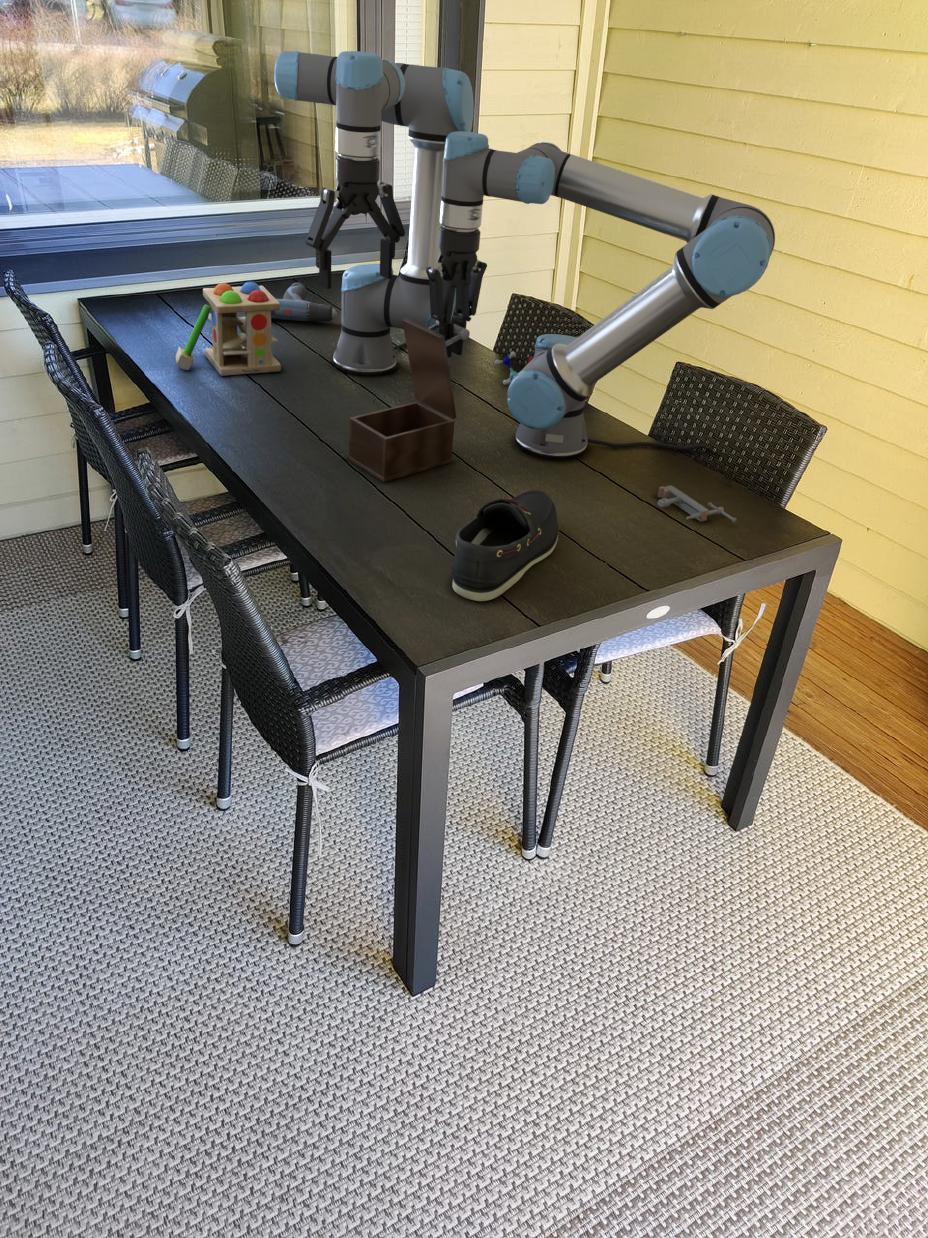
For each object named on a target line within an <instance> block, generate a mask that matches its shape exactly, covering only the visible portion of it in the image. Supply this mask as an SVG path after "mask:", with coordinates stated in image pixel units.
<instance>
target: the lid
mask: <svg viewBox="0 0 928 1238" xmlns="http://www.w3.org/2000/svg"><path fill="white" fill-rule="evenodd" d="M402 322H403V328H404V329H403V331H404V332H403V333H404V338H405V343H406V345H407V346H406V349H407V354H408V360H409V366H410V367H409V368H410V371H411V378H412V385H413V390H414V395H415V400H416V401H418V402H420V403H422V404H424V405H426V406H428V407H429V408H431V409H433V410H435V411H437V412H439V413H441V414H442V415H444V416H446V417H448V418H450V419H452V420H455V419H457V411H456V406H455V405H456V404H455V397H454V391H453V385H452V377H451V370H450V364H449V358H448V357H447V350H446V347H447V346H449V345H450V344H452V343H454V342H456V341H458V340H460V339H462V340H463V341H467V340H468V339H469V338H470V334H471V333H470V330H469V329H467V328H466V329H465V328H463V327H461V326H458V325H456V324H454V328H453V335H454V336H455V337H453V338H451V339H449V340H447V341H445V336H443V335H441V334H439V333H437V332H434V331H433V330H435V329H437V328H438V329H439V321H437V320H436V323H435V324H434V325H432V326H430V327H428V328H426V327H424V326H422V325H419V324H417V323H415V322H413V321H411V320H409V319H406V318H405V319H403V320H402Z"/></svg>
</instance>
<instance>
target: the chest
mask: <svg viewBox="0 0 928 1238" xmlns="http://www.w3.org/2000/svg"><path fill="white" fill-rule="evenodd" d="M348 424H349V427H348V428H349V429H348V431H349V432H348V461H350V462H351V463H353V464H354V465H357V466H358V467H359V468H360V469H362V470H364V471H366V472H367V473H369V474H371V475H372V476H374V477H375V478H377V479H378V480H380V481H381V482H383V483H387V482H390V481H393V480H396V479H400V478H403V477H406V476H411V475H413V474H417V473H420V472H423V471H427V470H430V469H431V470H432V469H434V468H437V467H440V466H444V465H447V464H451V463H452V458H453V445H454V433H455V420H454V419H451V418H450V417H448V416H446V415H444V414H442V413H440V412H438V411H437V410H435V409H433V408H431V407H429V406H427V405H425V404H424V403H422V402H420V401H418V400H416V401H413V402H409V403H405V404H401V405H396V406H393V407H392V406H391V407H387V408H385V409H380V410H375V411H371V412H367V413H364V414H358V415H355V416H350V417H349V423H348Z"/></svg>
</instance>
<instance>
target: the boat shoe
mask: <svg viewBox="0 0 928 1238" xmlns="http://www.w3.org/2000/svg"><path fill="white" fill-rule="evenodd" d="M558 520H559V519H558V513H557V509H556V506H555V503H554V502H553V500H552V498H551V496H549V494H548V493H546V492H545V491H542V490H539V489H537V490H536V489H533V490H528V491H526V492H522V493H520V494H517V495H516V496H514V497H513V498H505V497H504V498H499V497H498V498H495V499H493V500H491V501H488V502H486V503H485V504H483V505H482V506H481V507H480V508H479V509H478V511H477V512H476V514H475V516H474V518H472V519H470V520H469V521H468V522H467V523H465V525H463V526H461V527H460V528H459V529H458V530H457V532H456V534H455V536H454V538H453V544H455V548H454V549H455V552H454V556H453V560H452V567H450V573H451V575H453V576H452V585H451V586H452V589H453V591H454V592H455V593H456V594H457V595H459V596H460V597H463V598H464V599H468V600H470V601H471V600H472V601H476V602H486V601H490V600H493V599H496V598H498V597H499V596H501V595H502V594H504V593H505V592H506V591H507V590H508V589H510V588H511V587H512V586H514V585H515V584H516V583H517V582H518V581H520V579H522V577H523V575H524V574H525V573H526V572H527V571H528V570H529V569H530V568H531V567H533V565H535V564H536V563H539V562H541V561H543V560H544V559H546V558H547V557H549V556H550V555H551V554H552V553H553V551H554V550H555V548H556V546H557V543H558V539H559V522H558Z"/></svg>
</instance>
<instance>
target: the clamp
mask: <svg viewBox="0 0 928 1238" xmlns="http://www.w3.org/2000/svg"><path fill="white" fill-rule="evenodd" d="M656 497H657V498H659V499H658V501H657V506H659V507H660V508H667V507H669V506H670V507H671V505H673V504H674V505H675V506H677V507H679V508H680V509H681V510H682V511H684V512H686V513H687V514H688V516H686V517H685V519H686V520H691V519H692V520H694V519H696V520H697V521H699V522H704V521H707V519H708V516H711V515H717V516H718V515H723V516H725V517H726V518H728V519H729V520H731V521H732V523H736V522H737V521H738V519H737V517H733V516H732V515H730V514H728V513H727V512H725V509H724V507H723V506H718V507H717V506H715V505H714V504H713V503H712V502H711V501H709V502H707V507H708V508H711V509H712V510H709V509H708V508H706V507H705V506H704V505H702V504H701V503H699V502H698V501H696V500H695V499H693V498H691V497H690V496H689V495H687V494H686V493H684V492H683V491H681V490H679V489H678V488H677V487H675V486H674V485H666V486H664V485H662V486H659V487H658V492H657V496H656ZM660 498H661V499H660Z"/></svg>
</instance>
